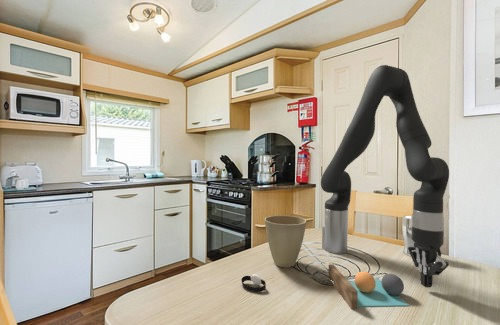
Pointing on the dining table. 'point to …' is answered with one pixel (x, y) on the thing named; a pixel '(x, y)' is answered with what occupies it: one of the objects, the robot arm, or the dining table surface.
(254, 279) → the watch
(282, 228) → the plant pot
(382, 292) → the teal mark
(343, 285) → the walnut stopper
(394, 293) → the charcoal ball
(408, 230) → the beer glass
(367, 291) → the terracotta ball
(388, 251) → the dining table surface
